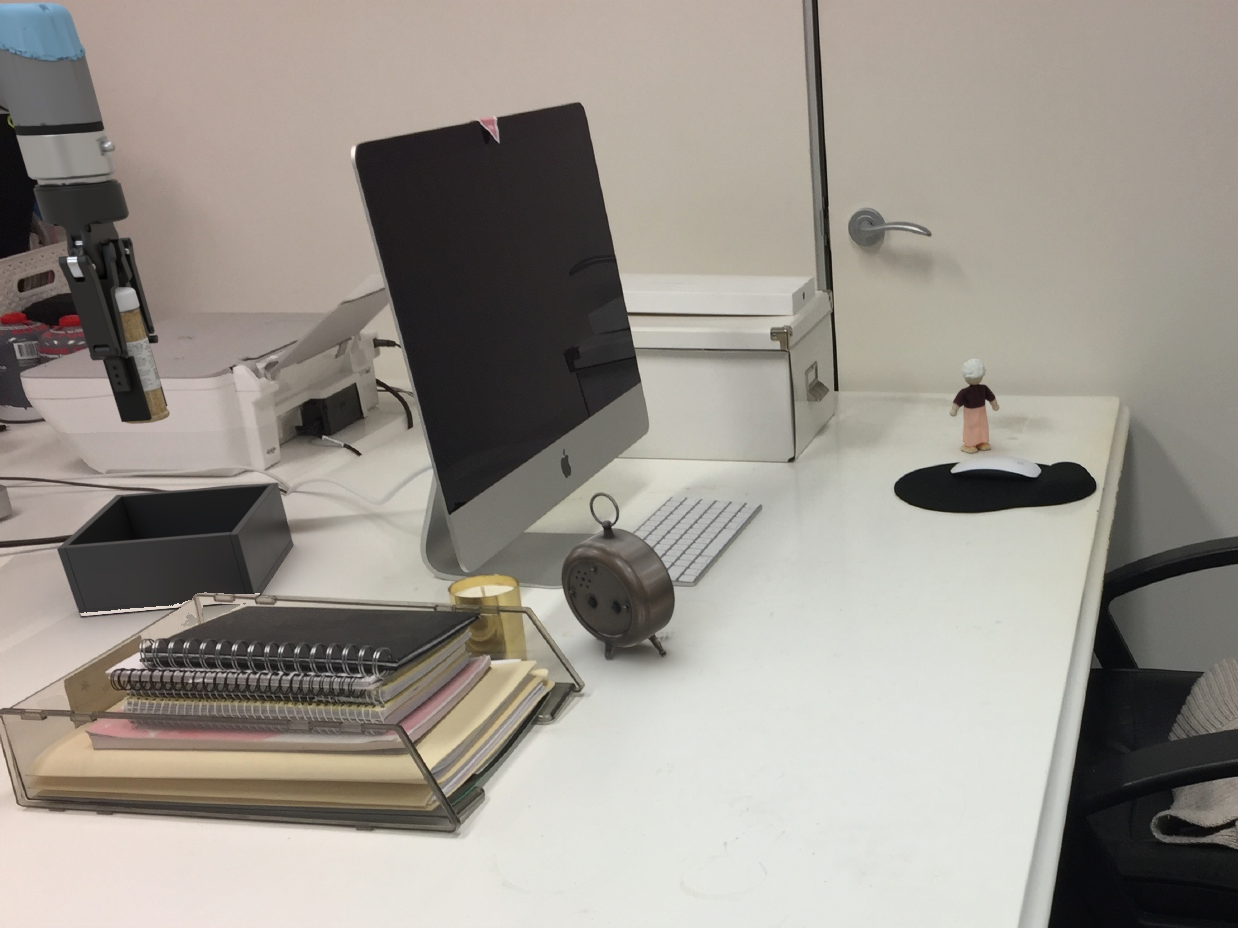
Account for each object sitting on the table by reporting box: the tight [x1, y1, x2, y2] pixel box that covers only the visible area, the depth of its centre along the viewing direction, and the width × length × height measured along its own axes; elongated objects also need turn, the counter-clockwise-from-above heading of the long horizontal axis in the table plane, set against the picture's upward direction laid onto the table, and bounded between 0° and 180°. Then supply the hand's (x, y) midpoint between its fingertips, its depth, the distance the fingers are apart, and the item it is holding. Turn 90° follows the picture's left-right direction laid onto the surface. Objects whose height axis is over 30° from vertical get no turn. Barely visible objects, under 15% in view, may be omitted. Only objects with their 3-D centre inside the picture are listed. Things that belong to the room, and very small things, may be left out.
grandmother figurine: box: [949, 358, 1000, 454], centre depth 181 cm, size 8×4×13 cm, turn 130°
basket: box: [56, 482, 295, 614], centre depth 146 cm, size 18×18×8 cm
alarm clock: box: [561, 491, 676, 660], centre depth 124 cm, size 11×5×16 cm, turn 59°
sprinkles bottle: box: [115, 287, 171, 425], centre depth 136 cm, size 5×5×14 cm
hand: (144, 413), depth 139 cm, fingers closed on sprinkles bottle, 4 cm apart
